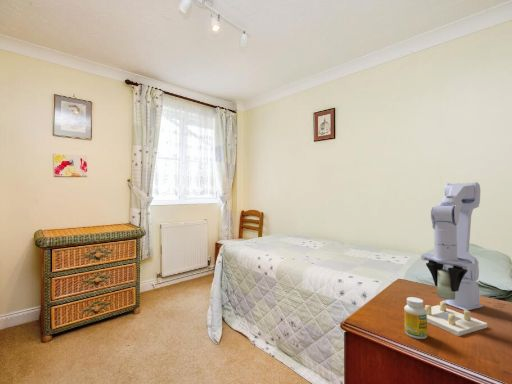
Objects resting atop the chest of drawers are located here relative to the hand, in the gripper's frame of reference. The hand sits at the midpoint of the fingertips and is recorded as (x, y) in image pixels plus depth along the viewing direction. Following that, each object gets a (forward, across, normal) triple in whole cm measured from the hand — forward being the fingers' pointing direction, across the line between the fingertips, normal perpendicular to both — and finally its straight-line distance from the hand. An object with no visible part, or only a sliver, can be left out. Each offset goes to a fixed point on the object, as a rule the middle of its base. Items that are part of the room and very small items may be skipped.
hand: (446, 288), depth 80 cm
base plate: (+10, 0, 0) cm, 10 cm away
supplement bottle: (+10, +2, -16) cm, 19 cm away
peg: (+3, 0, 0) cm, 3 cm away
